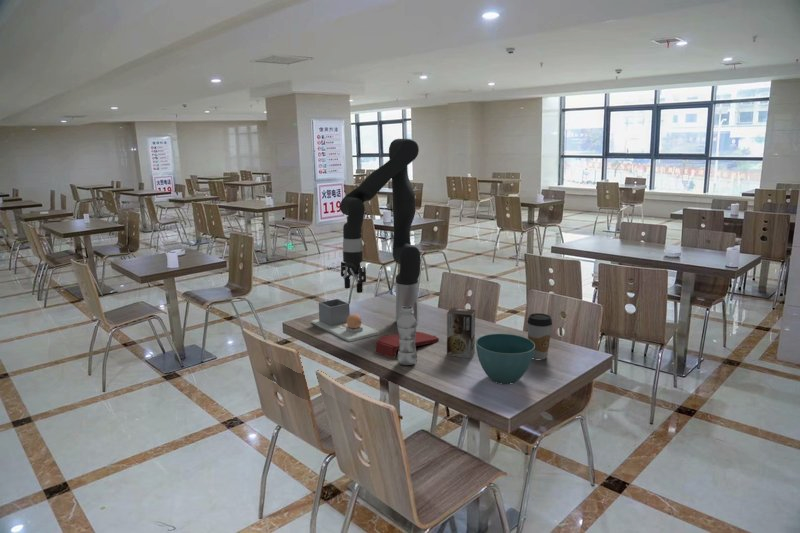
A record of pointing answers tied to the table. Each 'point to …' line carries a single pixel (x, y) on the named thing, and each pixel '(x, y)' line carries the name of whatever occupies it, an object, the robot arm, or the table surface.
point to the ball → (354, 321)
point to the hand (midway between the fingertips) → (353, 290)
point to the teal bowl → (505, 356)
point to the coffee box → (461, 332)
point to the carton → (391, 343)
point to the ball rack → (340, 321)
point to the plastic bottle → (407, 337)
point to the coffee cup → (539, 333)
